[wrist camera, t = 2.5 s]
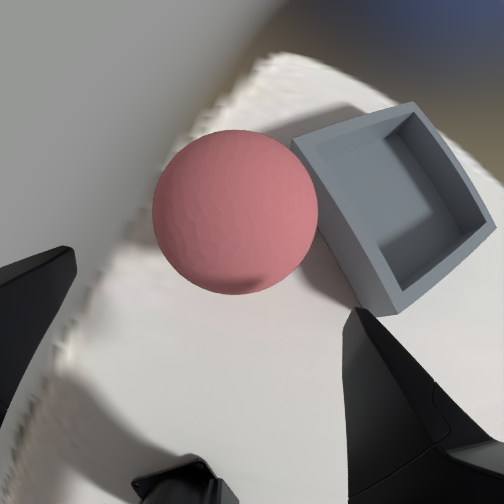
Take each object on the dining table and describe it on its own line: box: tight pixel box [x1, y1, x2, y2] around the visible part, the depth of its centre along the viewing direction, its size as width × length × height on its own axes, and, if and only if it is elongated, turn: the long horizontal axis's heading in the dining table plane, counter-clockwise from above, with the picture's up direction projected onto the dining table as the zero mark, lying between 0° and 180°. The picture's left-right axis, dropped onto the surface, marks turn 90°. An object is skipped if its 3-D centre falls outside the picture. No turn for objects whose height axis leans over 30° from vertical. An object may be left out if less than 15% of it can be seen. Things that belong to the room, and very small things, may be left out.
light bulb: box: [152, 130, 318, 295], centre depth 15 cm, size 7×7×12 cm
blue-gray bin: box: [289, 102, 497, 317], centre depth 21 cm, size 13×13×4 cm
